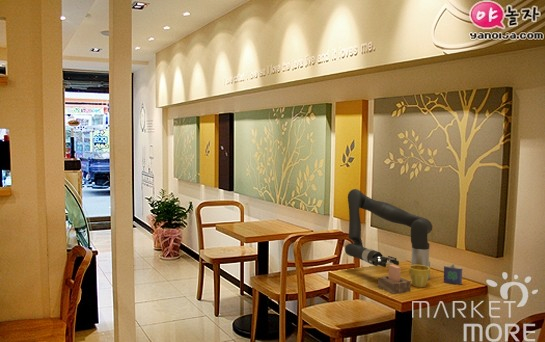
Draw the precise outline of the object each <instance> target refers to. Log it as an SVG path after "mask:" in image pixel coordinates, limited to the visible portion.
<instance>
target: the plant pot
mask: <svg viewBox="0 0 545 342" xmlns="http://www.w3.org/2000/svg"><path fill="white" fill-rule="evenodd" d="M408 272H409V274H410V279H411V285H412V286H413V287H416V288H424V287H425V288H426V286H427V281H428V280H427V278H428V275H429V274H431V267H430V268H429V267H427V266H424V265H410V266H409V267H408Z"/></svg>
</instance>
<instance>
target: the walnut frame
mask: <svg viewBox="0 0 545 342" xmlns="http://www.w3.org/2000/svg"><path fill="white" fill-rule="evenodd" d="M411 285H412V280H409V279H406V278H403V277H401V276H400V282H397V283H396V282H394V281H391V280H389V279H388V275H383V276H379V277H378V278H377V288H379V289H382V290H383V289H384V291H386V292H388V293H390V294H392V295H395V294H402V293H407V292H411Z"/></svg>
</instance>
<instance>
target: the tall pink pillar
mask: <svg viewBox="0 0 545 342" xmlns="http://www.w3.org/2000/svg"><path fill="white" fill-rule="evenodd" d="M387 276H388V279H389V280H391V281H394V282H396V283H397V282H400V277H401V267H400V266H399V265H395V264H392V263H391V264H388V275H387Z"/></svg>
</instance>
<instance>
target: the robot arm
mask: <svg viewBox="0 0 545 342" xmlns="http://www.w3.org/2000/svg"><path fill="white" fill-rule="evenodd" d="M347 204H348V213H349V214H348V215H349V216H348V217H349V219H348V239H349V240H350V241H352V242H353V243H351V242H350V243H347V244H346V245H345V247H344V252H345V254H346V255H347V256H350V257H354V258H355V259H359V260H362V261H364V262H366V263H368V264H370V265H372V266H375V267H377V266H379V267H382V268H387V265H392V264H393V265H396V266H400V261H399V260H397V257H394V256H390V255H387V256H385V255H383V254H382V253H381V252H380V251H377V250H374V249H372V248H367V247H365V246H363V240H362V221H361V217H360V209H363V210H365V211H368V212H370V213H372V214H373V215H375V216H377V217H378V218H381V219H383V220H385V221H388V222H390V223H394V224H399V225H403V226H407V227H409V228H410V242H411V258H410V259H411V262H410V263H411V265H424V266H427V267H429V268H430V269H431V262H430V243H429V242H428V234H429V233H431V232H432V231H433V224H432V222H431V221H430V220H429V219H428V218H426V217H422V216H419V215H415V214H413V213H410V212H408V211H405V210H404V209H401V208H400V207H397V206H395V205H393V204H390V203H388V202H384V201H381V200H375V199H373V198H371V197H369V196H367V195H366V194H364V193H363V192H362V191H361V190H359V189H358V188H354V189H351V190H350V191H349V192H348V194H347ZM411 265H410V266H411ZM430 274H431V273H430ZM430 274H429V275H428V278H427V281H428V280H429V279H430V276H431V275H430Z"/></svg>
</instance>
